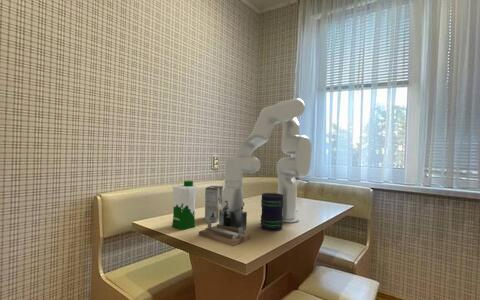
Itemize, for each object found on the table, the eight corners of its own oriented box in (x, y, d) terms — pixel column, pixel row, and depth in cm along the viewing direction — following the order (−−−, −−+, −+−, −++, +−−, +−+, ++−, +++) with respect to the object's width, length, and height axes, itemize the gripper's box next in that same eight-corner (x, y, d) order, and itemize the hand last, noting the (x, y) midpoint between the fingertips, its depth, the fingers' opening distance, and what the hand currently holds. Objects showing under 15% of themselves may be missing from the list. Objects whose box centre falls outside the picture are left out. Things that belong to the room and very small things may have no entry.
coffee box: (210, 216, 135) (211, 185, 135) (222, 217, 134) (223, 186, 134) (204, 221, 126) (205, 187, 126) (217, 222, 125) (218, 188, 125)
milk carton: (197, 226, 117) (199, 181, 117) (181, 231, 110) (182, 183, 110) (185, 222, 123) (186, 179, 123) (168, 226, 116) (170, 181, 116)
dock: (214, 229, 114) (215, 217, 114) (249, 238, 104) (250, 225, 104) (198, 235, 106) (199, 222, 106) (234, 245, 95) (235, 231, 95)
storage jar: (258, 229, 115) (259, 195, 115) (262, 224, 124) (263, 192, 124) (281, 232, 112) (282, 197, 112) (283, 226, 122) (284, 193, 122)
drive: (224, 225, 121) (224, 207, 121) (246, 230, 114) (246, 211, 114) (218, 227, 118) (219, 209, 118) (241, 232, 111) (241, 213, 111)
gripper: (238, 181, 125) (236, 218, 125) (214, 185, 111) (213, 227, 111) (251, 183, 121) (250, 221, 121) (228, 187, 107) (227, 230, 107)
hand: (232, 224), depth 116 cm, fingers open, 7 cm apart
